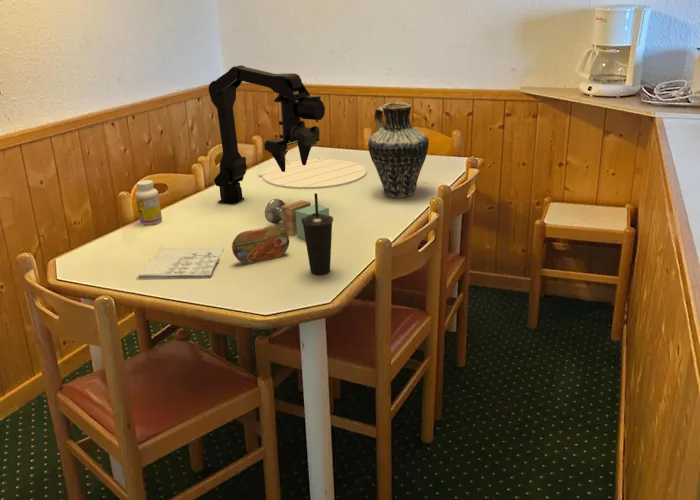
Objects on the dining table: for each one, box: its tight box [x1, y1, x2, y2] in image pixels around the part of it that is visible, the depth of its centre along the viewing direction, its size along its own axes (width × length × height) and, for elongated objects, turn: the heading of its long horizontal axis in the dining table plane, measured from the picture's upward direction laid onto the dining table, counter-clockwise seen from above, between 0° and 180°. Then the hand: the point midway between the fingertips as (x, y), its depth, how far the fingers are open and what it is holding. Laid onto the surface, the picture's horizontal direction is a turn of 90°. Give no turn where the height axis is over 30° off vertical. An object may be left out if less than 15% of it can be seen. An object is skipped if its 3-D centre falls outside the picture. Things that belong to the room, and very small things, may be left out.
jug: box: [367, 101, 429, 198], centre depth 214 cm, size 21×19×30 cm
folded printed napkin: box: [135, 246, 225, 280], centre depth 171 cm, size 19×20×2 cm
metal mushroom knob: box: [264, 198, 296, 225], centre depth 192 cm, size 11×7×7 cm
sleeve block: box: [281, 200, 311, 237], centre depth 189 cm, size 4×8×8 cm, turn 136°
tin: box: [231, 225, 290, 265], centre depth 170 cm, size 15×3×8 cm, turn 117°
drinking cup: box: [301, 193, 334, 276], centre depth 159 cm, size 8×8×20 cm
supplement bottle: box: [135, 179, 163, 226], centre depth 200 cm, size 7×7×13 cm
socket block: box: [295, 203, 330, 242], centre depth 184 cm, size 6×8×8 cm
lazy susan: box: [257, 156, 367, 190], centre depth 247 cm, size 40×39×3 cm
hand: (293, 168), depth 202 cm, fingers open, 9 cm apart
